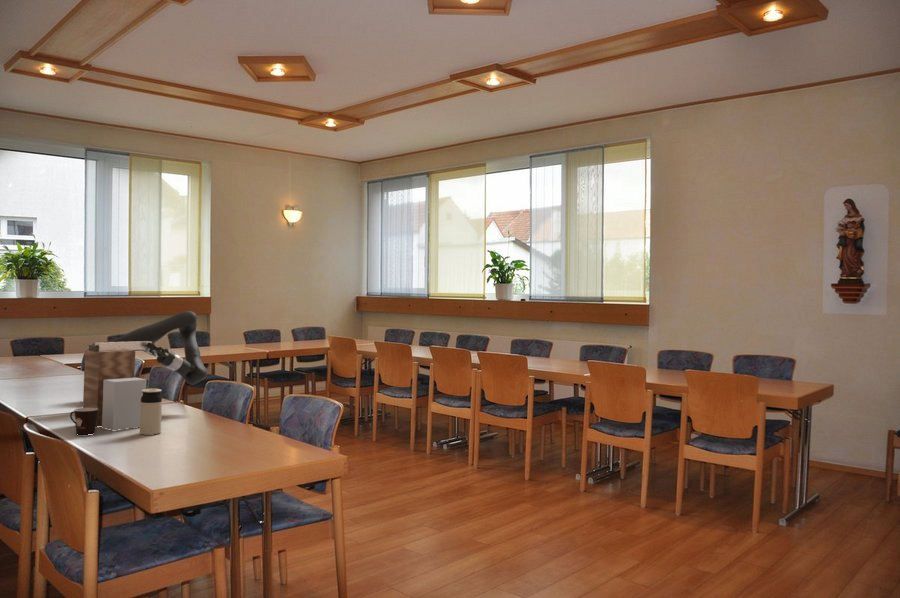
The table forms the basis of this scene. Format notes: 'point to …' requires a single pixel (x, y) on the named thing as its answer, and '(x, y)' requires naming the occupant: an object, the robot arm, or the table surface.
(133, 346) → the light wooden bar
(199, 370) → the robot arm
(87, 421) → the coffee mug
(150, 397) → the travel mug
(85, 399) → the walnut stand
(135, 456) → the table surface
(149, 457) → the table surface
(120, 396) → the grey block
